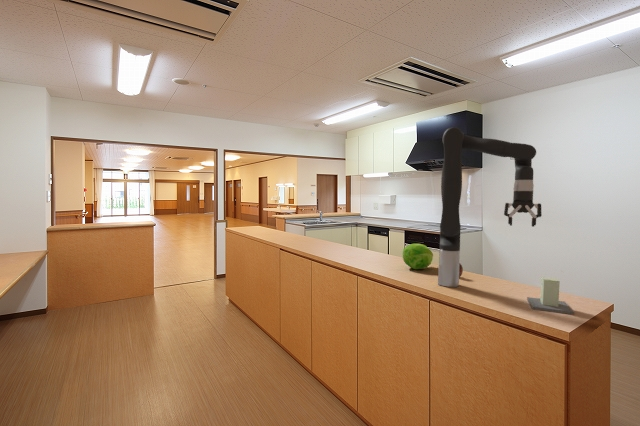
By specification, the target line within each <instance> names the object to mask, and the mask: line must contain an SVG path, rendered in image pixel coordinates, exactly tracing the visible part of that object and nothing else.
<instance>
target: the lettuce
mask: <svg viewBox="0 0 640 426" xmlns="http://www.w3.org/2000/svg"><path fill="white" fill-rule="evenodd" d="M433 258H434V254H433V252H432V250H431V249H430V248H429V247H427V245H425V244H421V243H411V244H408V245H406V246H405V247H404V248H403V250H402V259H403V262H404V264H406V265H407V266H408V268H411V269H413V270H422V269H426V268H427V267H429V266H430V265H431V264H432V262H433Z"/></svg>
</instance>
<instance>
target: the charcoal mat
mask: <svg viewBox="0 0 640 426" xmlns="http://www.w3.org/2000/svg"><path fill="white" fill-rule="evenodd" d="M526 300H527V301H528V304H529V306H530V307H531V309H532V310H537V311H538V310H539V311H543V312H544V311H545V312H552V313H558V314H559V313H560V314H568V315H574V314H575V311H574V310H573V309H572V308H571V307H570V306H569V305H568V303H567V302H566V301H563V300H559V303H558V307H555V306H547V305H543V304H542V303H541V301H540V298H538V297H530V296H528V297H526Z"/></svg>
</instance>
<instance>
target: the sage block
mask: <svg viewBox="0 0 640 426" xmlns="http://www.w3.org/2000/svg"><path fill="white" fill-rule="evenodd" d="M540 279H541V282H540V298H539V299H540V301H541V303H542V304H543V305H547V306H555V307H558V303H559V301H560V299H559V297H560V280H559V279H558V278H557V277H556V278H555V277H545V276H541V278H540Z"/></svg>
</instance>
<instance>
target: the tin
mask: <svg viewBox="0 0 640 426" xmlns="http://www.w3.org/2000/svg"><path fill="white" fill-rule="evenodd" d="M463 270H464V269H463V265H462V264H461V263H460V262H459V278H460V277H461V276H462V275H463Z"/></svg>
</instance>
